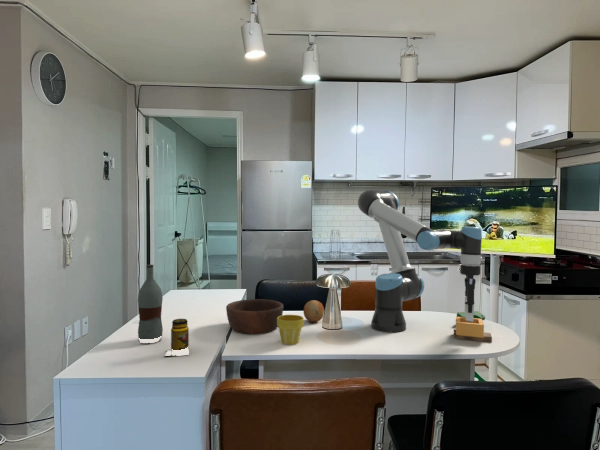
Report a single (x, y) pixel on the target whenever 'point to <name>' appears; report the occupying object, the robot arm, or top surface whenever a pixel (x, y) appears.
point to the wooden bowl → (254, 315)
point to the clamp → (476, 315)
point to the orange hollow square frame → (469, 327)
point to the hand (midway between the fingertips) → (468, 316)
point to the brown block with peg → (486, 337)
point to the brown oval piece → (313, 311)
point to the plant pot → (290, 328)
